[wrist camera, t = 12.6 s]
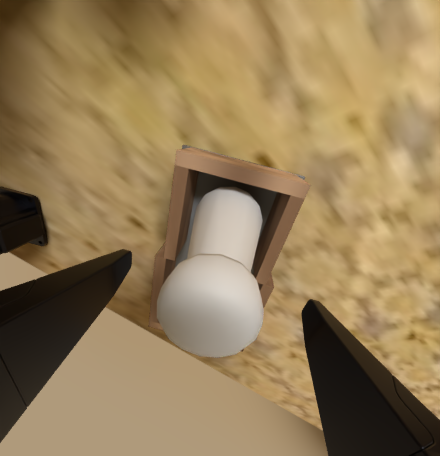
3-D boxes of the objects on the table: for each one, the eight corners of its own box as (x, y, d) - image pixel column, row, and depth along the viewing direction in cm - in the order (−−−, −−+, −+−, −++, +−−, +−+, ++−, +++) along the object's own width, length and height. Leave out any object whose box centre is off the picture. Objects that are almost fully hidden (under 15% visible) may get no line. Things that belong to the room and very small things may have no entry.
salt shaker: (264, 231, 19) (297, 379, 7) (210, 241, 20) (164, 382, 8) (253, 173, 17) (273, 254, 5) (193, 188, 18) (97, 283, 6)
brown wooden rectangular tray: (163, 296, 25) (148, 326, 21) (184, 144, 17) (165, 146, 13) (242, 317, 25) (242, 351, 21) (303, 176, 17) (322, 188, 13)
